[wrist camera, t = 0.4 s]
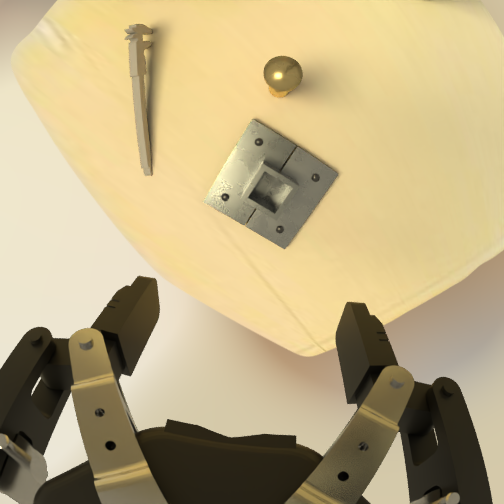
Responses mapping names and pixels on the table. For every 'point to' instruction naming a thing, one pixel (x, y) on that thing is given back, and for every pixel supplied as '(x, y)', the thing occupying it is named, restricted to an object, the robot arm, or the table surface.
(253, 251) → the table surface
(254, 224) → the square socket plate
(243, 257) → the table surface
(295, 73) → the pin
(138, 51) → the caliper
